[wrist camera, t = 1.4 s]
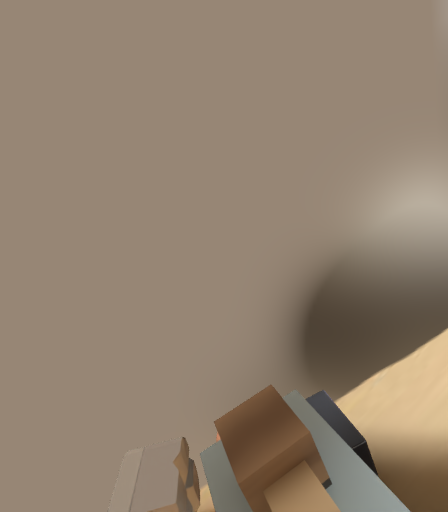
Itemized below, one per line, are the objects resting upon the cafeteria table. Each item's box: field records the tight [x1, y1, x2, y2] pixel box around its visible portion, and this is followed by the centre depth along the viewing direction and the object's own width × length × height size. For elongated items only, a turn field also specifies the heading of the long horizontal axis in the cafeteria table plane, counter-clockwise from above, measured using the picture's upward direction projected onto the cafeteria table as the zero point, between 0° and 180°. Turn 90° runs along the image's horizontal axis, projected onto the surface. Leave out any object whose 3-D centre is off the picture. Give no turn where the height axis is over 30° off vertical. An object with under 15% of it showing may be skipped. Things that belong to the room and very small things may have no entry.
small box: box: [305, 390, 378, 476], centre depth 41 cm, size 11×6×10 cm, turn 12°
